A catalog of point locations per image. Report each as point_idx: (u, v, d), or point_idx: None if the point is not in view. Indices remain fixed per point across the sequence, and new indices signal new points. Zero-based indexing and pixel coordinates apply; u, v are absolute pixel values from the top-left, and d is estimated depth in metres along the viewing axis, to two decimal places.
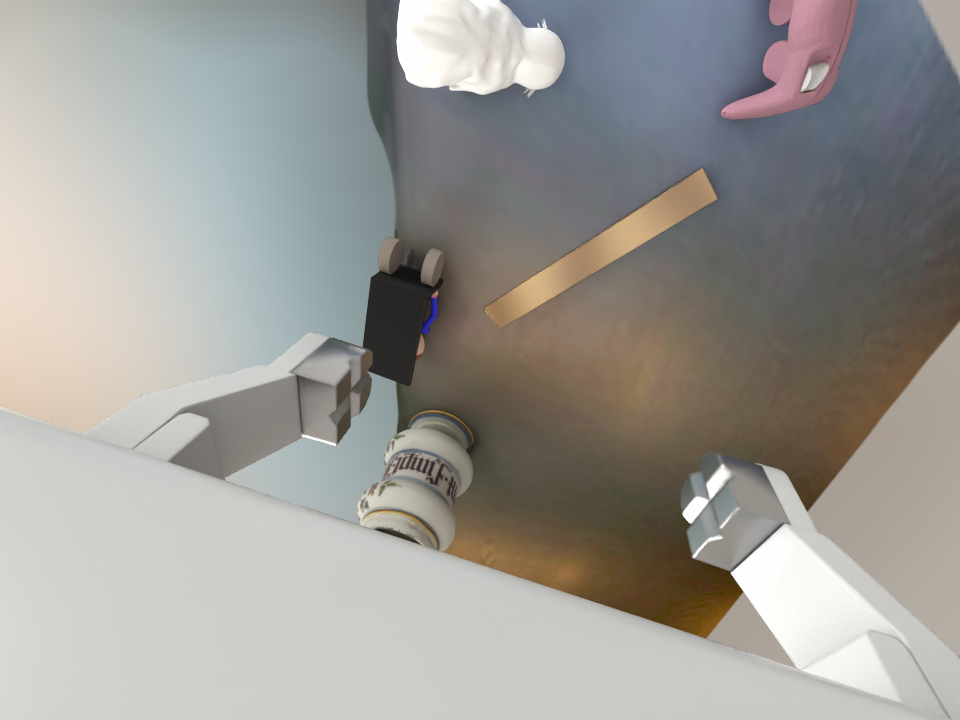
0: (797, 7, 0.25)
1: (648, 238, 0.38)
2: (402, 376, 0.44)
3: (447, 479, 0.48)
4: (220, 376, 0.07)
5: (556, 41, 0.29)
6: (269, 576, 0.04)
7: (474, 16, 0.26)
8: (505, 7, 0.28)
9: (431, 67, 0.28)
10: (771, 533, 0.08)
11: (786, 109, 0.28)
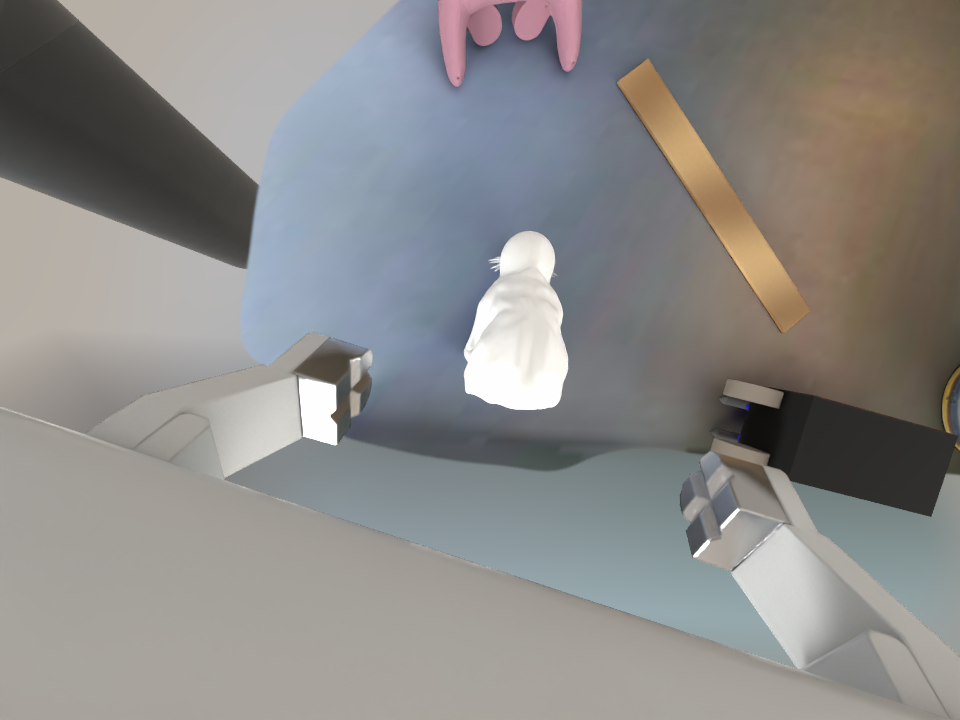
0: None
1: (691, 128, 0.31)
2: (941, 444, 0.28)
3: None
4: (220, 376, 0.07)
5: (516, 237, 0.27)
6: (269, 576, 0.04)
7: (510, 313, 0.23)
8: (489, 291, 0.26)
9: (558, 364, 0.23)
10: (771, 533, 0.08)
11: None
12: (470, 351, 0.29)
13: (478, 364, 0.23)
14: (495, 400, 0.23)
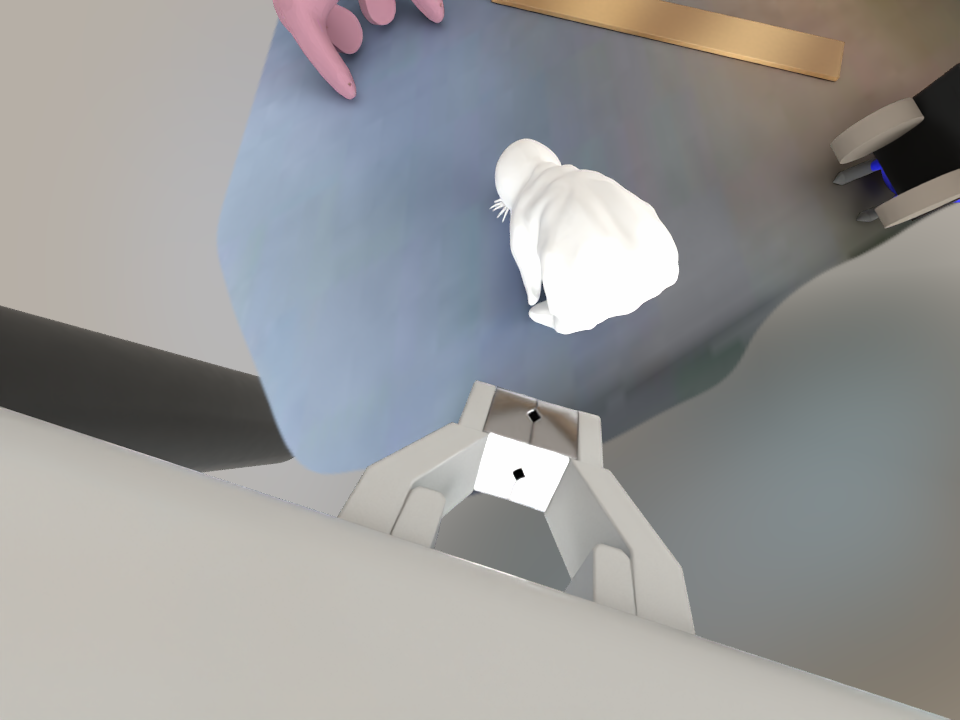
0: None
1: None
2: None
3: None
4: (424, 439, 0.07)
5: (501, 159, 0.22)
6: (269, 576, 0.04)
7: (553, 201, 0.18)
8: (513, 218, 0.21)
9: (649, 211, 0.17)
10: (562, 469, 0.08)
11: None
12: (537, 309, 0.23)
13: (559, 280, 0.17)
14: (610, 302, 0.17)
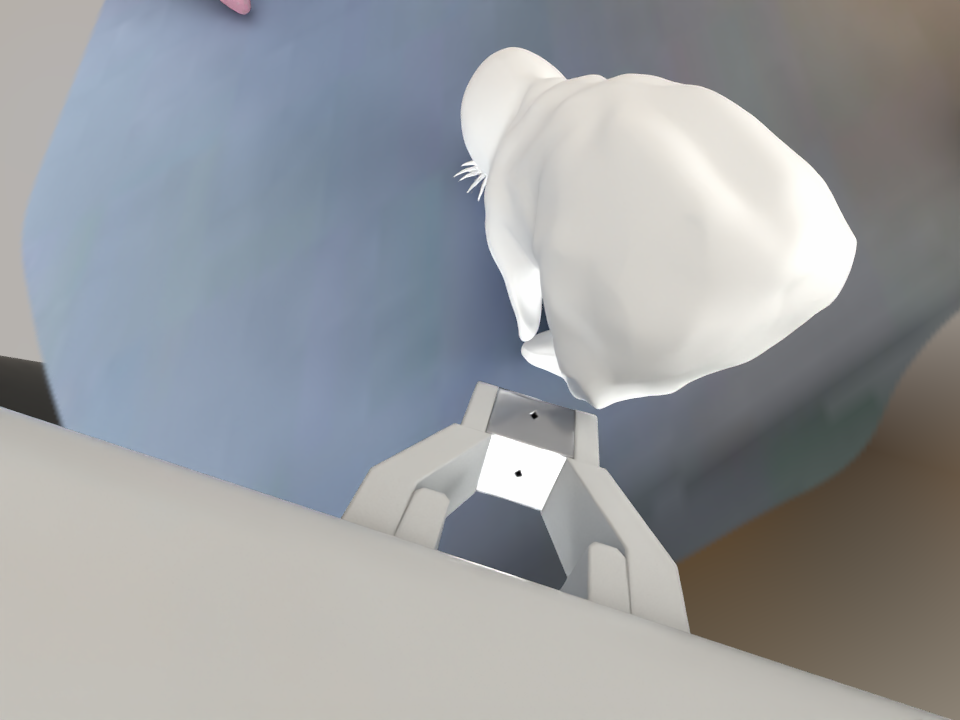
0: None
1: None
2: None
3: None
4: (427, 440, 0.07)
5: (469, 85, 0.13)
6: (269, 576, 0.04)
7: (567, 136, 0.08)
8: (488, 186, 0.11)
9: None
10: (559, 468, 0.08)
11: None
12: (535, 346, 0.14)
13: (582, 309, 0.08)
14: (703, 361, 0.07)
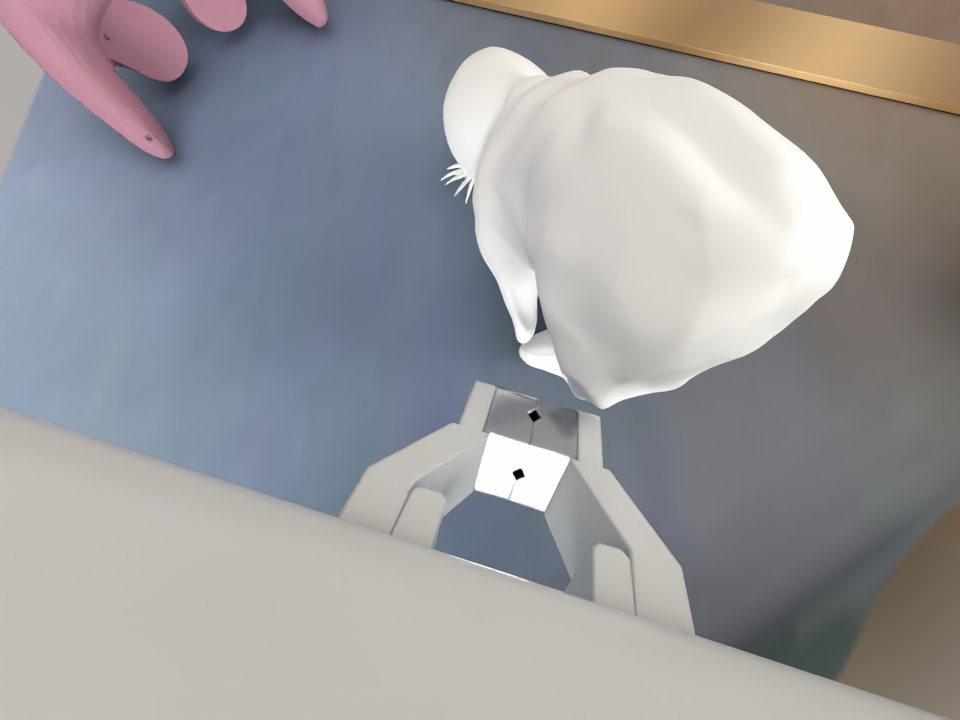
0: None
1: None
2: None
3: None
4: (424, 439, 0.07)
5: (450, 88, 0.12)
6: (269, 576, 0.04)
7: (554, 135, 0.08)
8: (476, 189, 0.11)
9: None
10: (562, 469, 0.08)
11: None
12: (532, 347, 0.13)
13: (580, 310, 0.08)
14: (707, 356, 0.07)
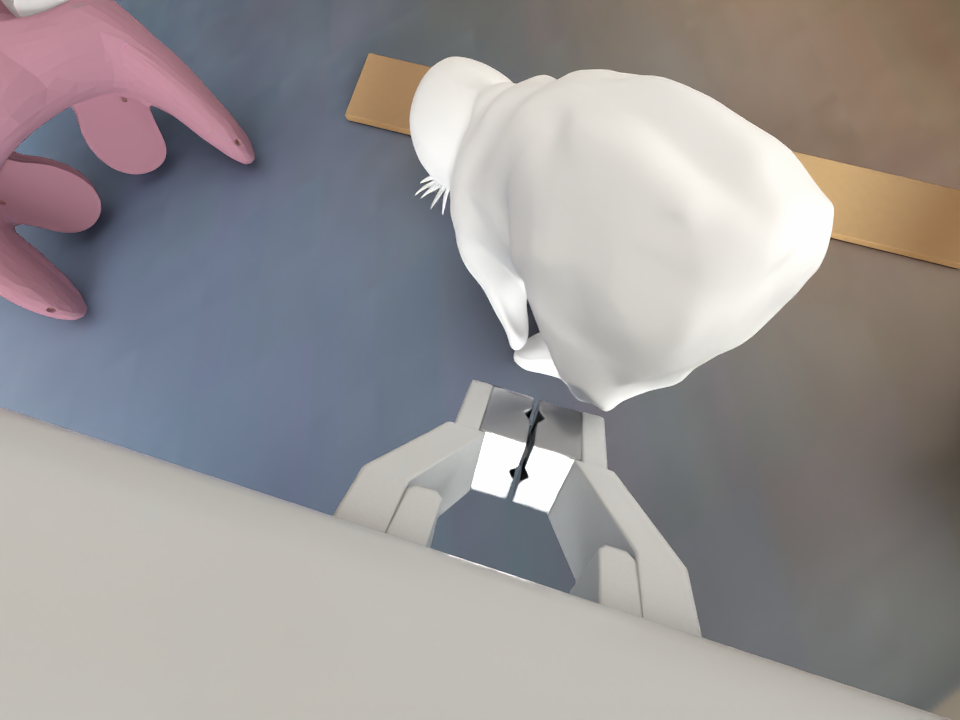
0: None
1: None
2: None
3: None
4: (420, 438, 0.07)
5: (414, 102, 0.12)
6: (269, 576, 0.04)
7: (528, 146, 0.08)
8: (453, 203, 0.11)
9: None
10: (567, 470, 0.08)
11: (134, 22, 0.13)
12: (527, 352, 0.13)
13: (575, 319, 0.08)
14: (706, 351, 0.07)
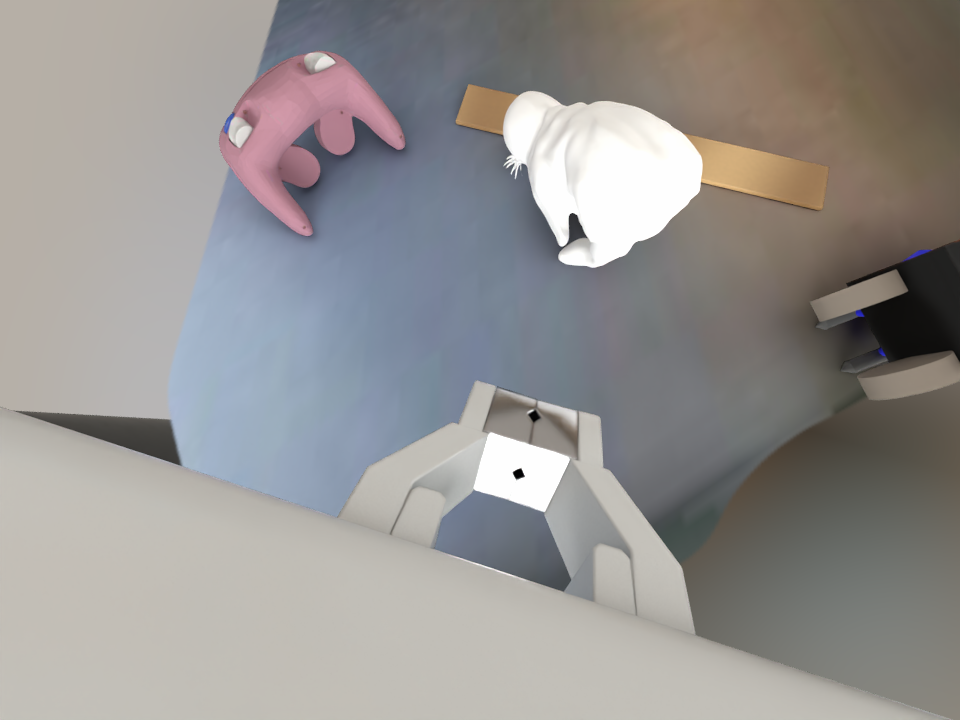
0: (286, 126, 0.22)
1: None
2: None
3: None
4: (424, 439, 0.07)
5: (508, 115, 0.23)
6: (269, 576, 0.04)
7: (577, 134, 0.19)
8: (534, 165, 0.22)
9: None
10: (562, 469, 0.08)
11: (358, 72, 0.24)
12: (567, 251, 0.24)
13: (597, 205, 0.19)
14: (649, 213, 0.18)
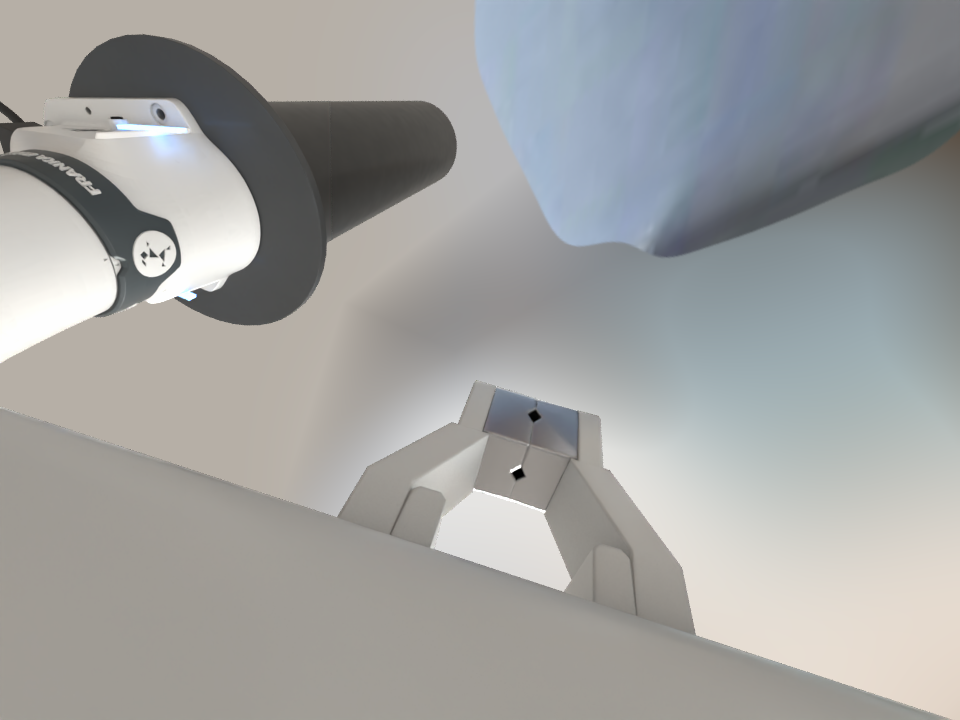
0: None
1: None
2: None
3: None
4: (424, 439, 0.07)
5: None
6: (269, 576, 0.04)
7: None
8: None
9: None
10: (562, 469, 0.08)
11: None
12: None
13: None
14: None
